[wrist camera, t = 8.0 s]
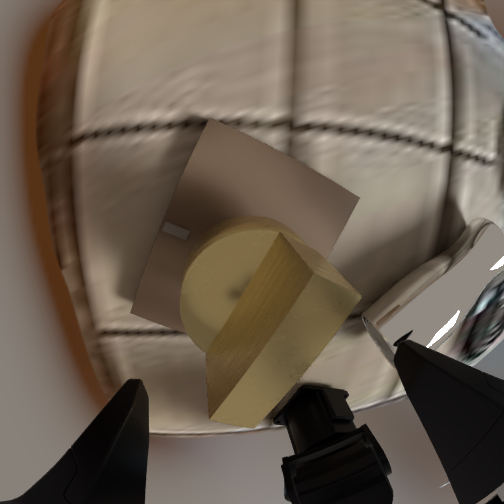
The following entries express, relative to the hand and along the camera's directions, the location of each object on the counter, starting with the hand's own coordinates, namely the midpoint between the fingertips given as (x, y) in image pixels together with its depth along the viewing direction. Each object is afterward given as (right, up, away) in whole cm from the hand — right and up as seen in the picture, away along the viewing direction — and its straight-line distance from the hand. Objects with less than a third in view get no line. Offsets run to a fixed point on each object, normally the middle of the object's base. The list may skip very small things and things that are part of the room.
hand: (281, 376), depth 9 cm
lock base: (-2, +4, +11) cm, 12 cm away
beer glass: (+22, +5, +12) cm, 26 cm away
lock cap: (-1, +2, +7) cm, 8 cm away
